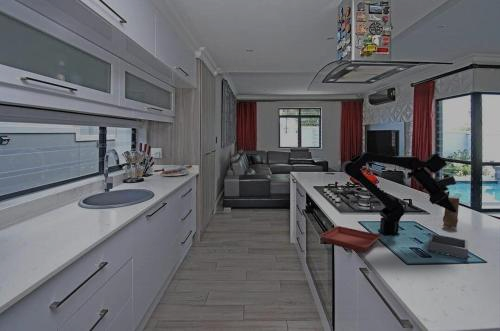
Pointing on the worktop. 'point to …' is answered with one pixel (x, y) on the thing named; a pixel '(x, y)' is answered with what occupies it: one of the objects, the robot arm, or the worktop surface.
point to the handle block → (451, 213)
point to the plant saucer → (350, 238)
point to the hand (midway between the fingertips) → (455, 210)
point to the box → (448, 245)
